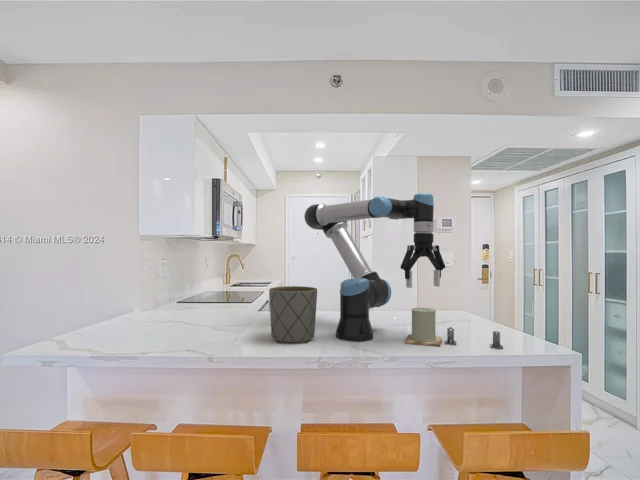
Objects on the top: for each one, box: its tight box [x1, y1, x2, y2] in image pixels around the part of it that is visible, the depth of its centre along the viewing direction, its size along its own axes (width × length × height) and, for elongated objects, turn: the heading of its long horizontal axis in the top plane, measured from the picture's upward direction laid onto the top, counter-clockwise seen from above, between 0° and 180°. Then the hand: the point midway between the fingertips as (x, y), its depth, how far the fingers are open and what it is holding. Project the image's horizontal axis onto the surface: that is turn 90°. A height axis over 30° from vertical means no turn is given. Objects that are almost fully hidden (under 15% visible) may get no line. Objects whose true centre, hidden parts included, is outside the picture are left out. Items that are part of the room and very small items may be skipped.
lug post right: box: [489, 330, 504, 350], centre depth 142 cm, size 4×5×6 cm
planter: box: [268, 285, 318, 344], centre depth 154 cm, size 19×19×20 cm
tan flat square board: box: [404, 333, 443, 348], centre depth 151 cm, size 13×13×1 cm
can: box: [411, 307, 436, 342], centre depth 151 cm, size 9×9×12 cm
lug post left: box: [444, 326, 457, 346], centre depth 148 cm, size 4×5×6 cm
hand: (423, 287), depth 152 cm, fingers open, 13 cm apart
